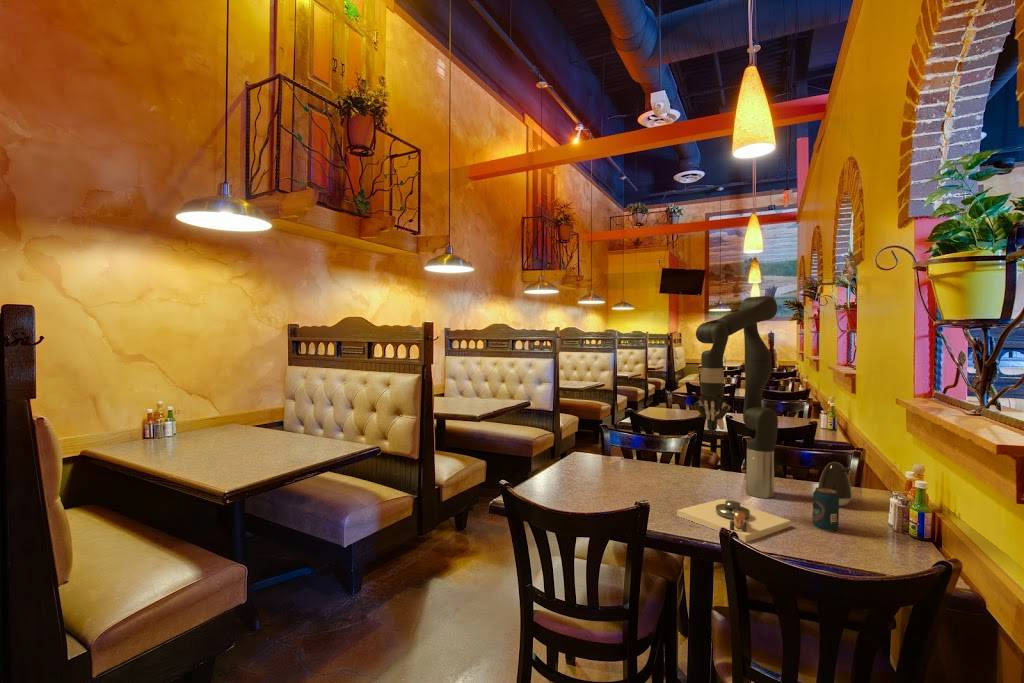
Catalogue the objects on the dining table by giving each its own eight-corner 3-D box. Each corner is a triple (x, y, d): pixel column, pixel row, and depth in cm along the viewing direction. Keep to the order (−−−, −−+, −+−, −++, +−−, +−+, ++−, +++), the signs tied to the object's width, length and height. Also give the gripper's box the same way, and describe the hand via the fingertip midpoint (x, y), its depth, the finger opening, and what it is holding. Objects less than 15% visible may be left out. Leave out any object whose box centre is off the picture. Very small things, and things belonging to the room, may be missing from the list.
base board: (721, 504, 175) (722, 491, 175) (790, 526, 155) (790, 512, 155) (677, 516, 162) (677, 502, 162) (745, 542, 142) (745, 527, 142)
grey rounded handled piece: (713, 506, 164) (713, 495, 164) (746, 510, 162) (746, 498, 162) (722, 526, 148) (722, 512, 147) (758, 529, 145) (759, 516, 145)
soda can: (807, 524, 158) (808, 486, 157) (827, 523, 158) (828, 486, 158) (822, 532, 151) (823, 493, 151) (843, 532, 151) (844, 493, 151)
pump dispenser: (840, 510, 171) (841, 466, 171) (811, 501, 180) (812, 459, 180) (858, 506, 175) (859, 464, 175) (829, 498, 185) (830, 457, 185)
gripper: (688, 380, 173) (688, 429, 173) (724, 383, 163) (724, 435, 163) (700, 378, 178) (700, 426, 178) (736, 381, 167) (736, 432, 168)
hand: (712, 430), depth 170 cm, fingers closed
